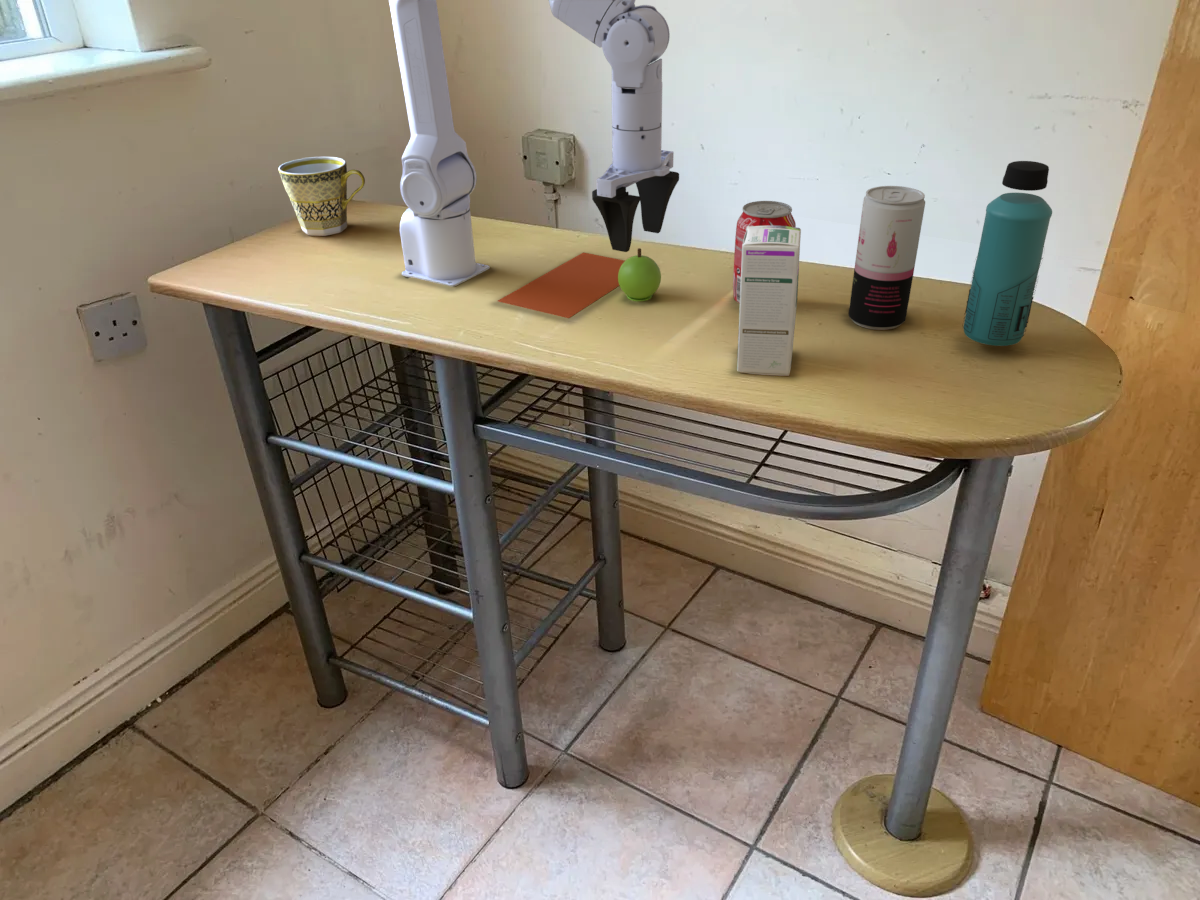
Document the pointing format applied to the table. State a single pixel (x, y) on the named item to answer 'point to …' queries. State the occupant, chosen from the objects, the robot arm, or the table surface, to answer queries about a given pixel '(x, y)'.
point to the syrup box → (768, 299)
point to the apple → (639, 277)
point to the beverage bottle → (1009, 258)
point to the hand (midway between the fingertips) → (636, 240)
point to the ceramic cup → (319, 193)
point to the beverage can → (886, 256)
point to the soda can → (757, 216)
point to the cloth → (569, 286)
